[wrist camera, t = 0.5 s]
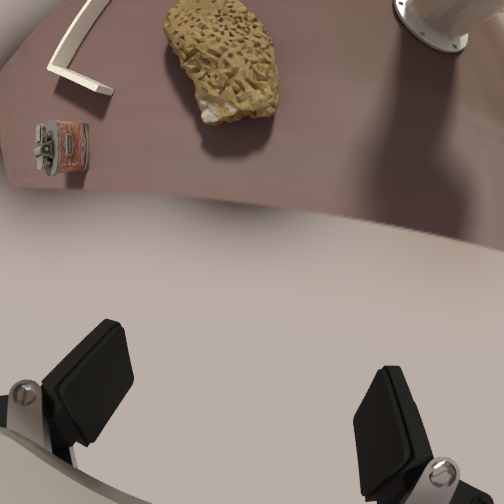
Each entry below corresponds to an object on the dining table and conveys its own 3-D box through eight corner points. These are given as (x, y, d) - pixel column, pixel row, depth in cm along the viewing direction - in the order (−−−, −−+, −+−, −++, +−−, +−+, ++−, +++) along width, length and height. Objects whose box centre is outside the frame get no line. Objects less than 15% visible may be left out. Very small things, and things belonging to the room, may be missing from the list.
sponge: (291, 113, 31) (263, -19, 22) (279, 116, 25) (244, -42, 15) (198, 128, 36) (174, 9, 26) (168, 138, 29) (142, -2, 20)
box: (136, -35, 23) (125, -44, 19) (200, -26, 24) (192, -39, 20) (61, 72, 31) (46, 69, 27) (111, 95, 32) (95, 91, 28)
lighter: (91, 169, 36) (45, 176, 26) (77, 172, 36) (31, 180, 27) (90, 119, 33) (44, 115, 24) (75, 124, 34) (30, 122, 24)
